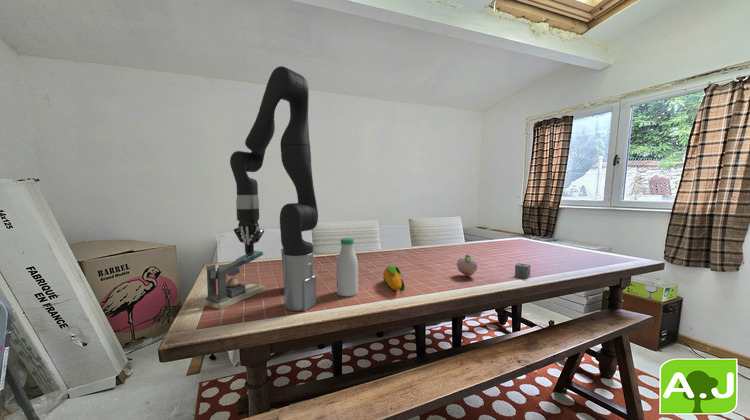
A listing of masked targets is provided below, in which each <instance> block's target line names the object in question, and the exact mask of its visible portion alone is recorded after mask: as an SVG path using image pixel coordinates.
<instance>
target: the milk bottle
mask: <svg viewBox="0 0 750 420" xmlns="http://www.w3.org/2000/svg"><path fill="white" fill-rule="evenodd" d="M354 244H355V243H354V238H350V237H348V238H346V237H345V238H340V246H341V249H340V252H339V254H338V257H337V261H336V294H337V295H338V296H340V297H353V296H356V295H357V294H358V292H359V265H358V264H359V262H358V261H359V260H358V258H357V255H356V253H355V250H354Z"/></svg>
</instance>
